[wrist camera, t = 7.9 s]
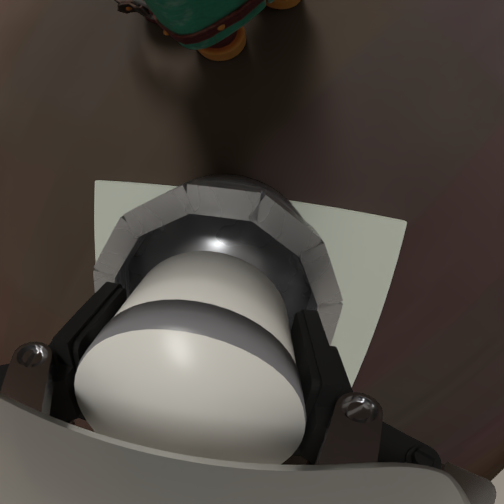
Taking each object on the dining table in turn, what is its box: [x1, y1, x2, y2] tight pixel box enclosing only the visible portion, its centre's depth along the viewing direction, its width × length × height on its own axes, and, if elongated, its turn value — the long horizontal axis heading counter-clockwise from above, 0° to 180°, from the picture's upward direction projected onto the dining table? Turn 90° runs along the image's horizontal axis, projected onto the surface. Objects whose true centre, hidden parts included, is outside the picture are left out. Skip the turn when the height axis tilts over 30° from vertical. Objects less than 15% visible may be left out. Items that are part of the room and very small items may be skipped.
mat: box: [94, 180, 407, 387], centre depth 19 cm, size 18×16×1 cm
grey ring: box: [93, 174, 343, 346], centre depth 14 cm, size 10×10×6 cm
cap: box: [74, 251, 306, 465], centre depth 9 cm, size 6×6×5 cm
